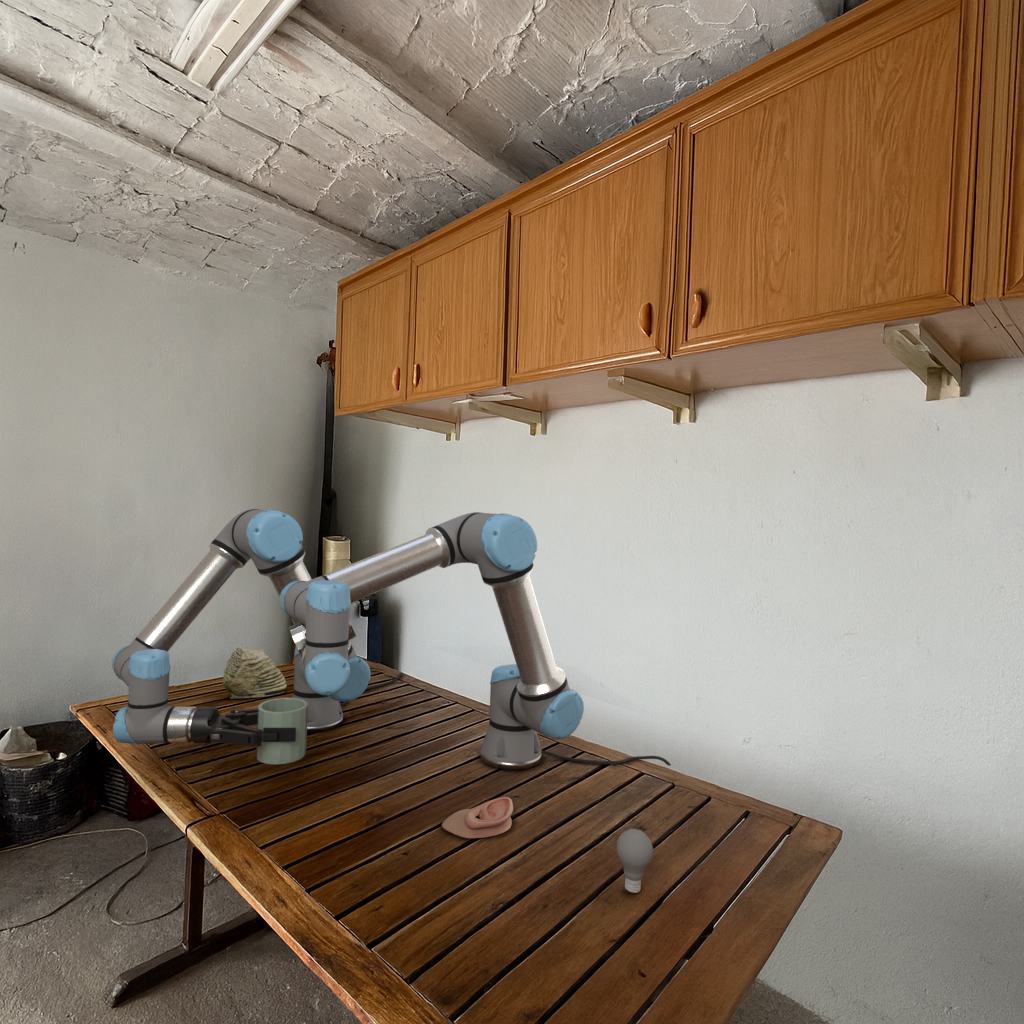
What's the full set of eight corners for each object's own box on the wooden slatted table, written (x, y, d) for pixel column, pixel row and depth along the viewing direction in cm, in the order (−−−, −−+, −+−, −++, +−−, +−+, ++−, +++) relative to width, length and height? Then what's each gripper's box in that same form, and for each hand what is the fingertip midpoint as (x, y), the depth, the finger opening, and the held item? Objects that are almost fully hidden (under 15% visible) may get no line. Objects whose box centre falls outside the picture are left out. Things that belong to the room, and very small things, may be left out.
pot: (289, 742, 146) (291, 694, 146) (314, 754, 140) (316, 705, 140) (247, 754, 138) (249, 704, 138) (272, 768, 132) (274, 716, 132)
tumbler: (343, 609, 148) (293, 633, 144) (339, 598, 141) (286, 623, 137) (357, 640, 146) (306, 664, 142) (354, 630, 138) (300, 656, 135)
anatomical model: (437, 813, 121) (454, 787, 132) (436, 833, 121) (454, 805, 132) (505, 823, 118) (517, 795, 129) (504, 844, 118) (516, 815, 129)
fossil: (218, 695, 195) (220, 647, 195) (278, 685, 208) (279, 640, 207) (228, 703, 189) (230, 653, 188) (289, 692, 201) (290, 645, 201)
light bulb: (610, 879, 108) (613, 822, 108) (644, 879, 109) (647, 822, 109) (619, 902, 102) (622, 840, 102) (655, 901, 103) (658, 840, 103)
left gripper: (213, 723, 148) (310, 724, 151) (172, 764, 125) (288, 764, 128) (214, 691, 148) (312, 692, 151) (173, 726, 125) (289, 727, 128)
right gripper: (361, 692, 127) (348, 663, 148) (318, 598, 123) (311, 582, 145) (325, 711, 125) (317, 679, 146) (281, 615, 121) (279, 596, 142)
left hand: (301, 725), depth 139 cm, fingers closed on pot, 10 cm apart
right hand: (314, 630), depth 145 cm, fingers closed on tumbler, 8 cm apart
